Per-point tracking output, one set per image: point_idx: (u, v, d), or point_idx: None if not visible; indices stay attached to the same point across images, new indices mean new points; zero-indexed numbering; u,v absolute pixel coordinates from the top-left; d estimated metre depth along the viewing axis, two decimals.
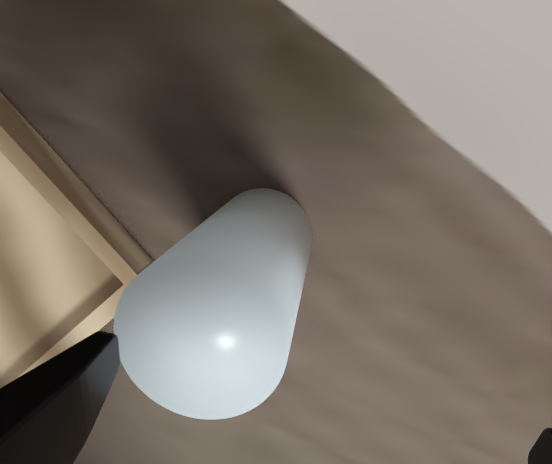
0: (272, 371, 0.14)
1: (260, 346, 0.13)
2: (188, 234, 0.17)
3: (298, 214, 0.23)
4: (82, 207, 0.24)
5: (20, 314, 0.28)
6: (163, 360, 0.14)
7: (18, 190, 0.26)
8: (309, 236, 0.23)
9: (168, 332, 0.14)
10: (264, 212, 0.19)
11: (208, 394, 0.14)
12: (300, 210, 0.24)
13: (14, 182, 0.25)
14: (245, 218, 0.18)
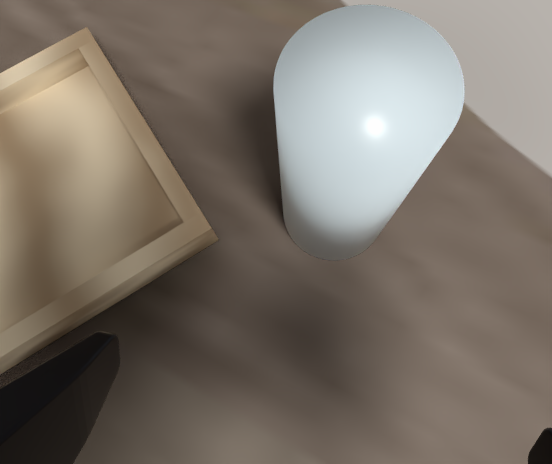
0: (445, 118, 0.13)
1: (433, 91, 0.13)
2: None
3: None
4: None
5: (36, 264, 0.24)
6: (324, 101, 0.13)
7: (92, 134, 0.25)
8: None
9: (336, 73, 0.13)
10: None
11: (369, 141, 0.12)
12: None
13: (92, 127, 0.26)
14: None
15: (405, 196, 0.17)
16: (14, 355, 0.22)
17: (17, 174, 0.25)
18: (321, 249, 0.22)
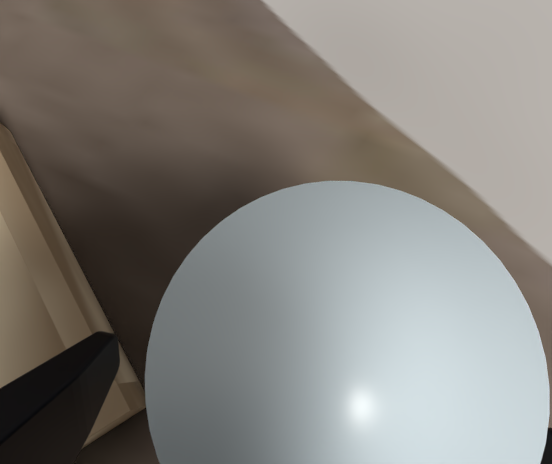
0: (512, 461, 0.06)
1: (483, 389, 0.06)
2: None
3: None
4: (69, 276, 0.17)
5: None
6: (250, 409, 0.06)
7: None
8: None
9: (276, 339, 0.06)
10: None
11: None
12: None
13: None
14: None
15: None
16: None
17: None
18: None
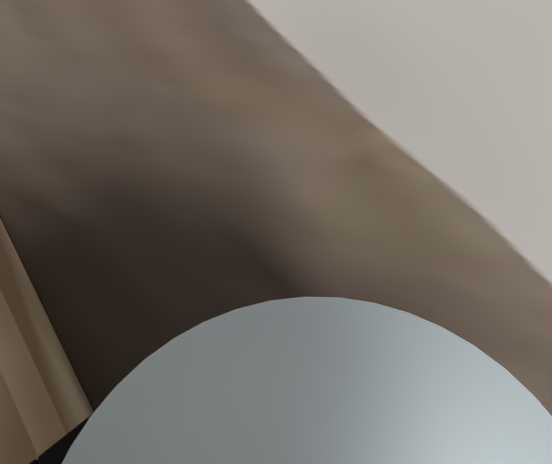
0: None
1: None
2: None
3: None
4: (25, 324, 0.15)
5: None
6: None
7: None
8: None
9: None
10: None
11: None
12: None
13: None
14: None
15: None
16: None
17: None
18: None
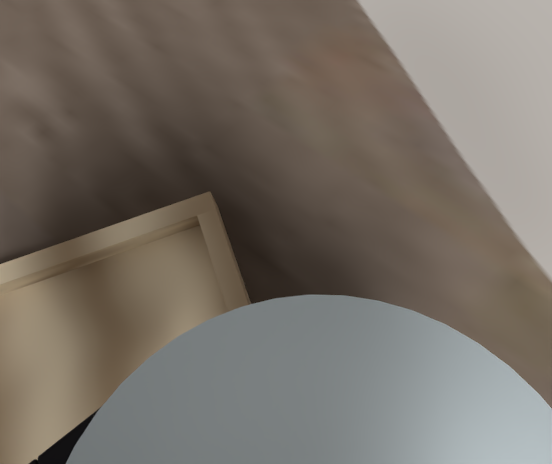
0: None
1: None
2: None
3: None
4: None
5: None
6: None
7: (191, 310, 0.23)
8: None
9: None
10: None
11: None
12: None
13: (192, 301, 0.23)
14: None
15: None
16: None
17: (103, 339, 0.23)
18: None
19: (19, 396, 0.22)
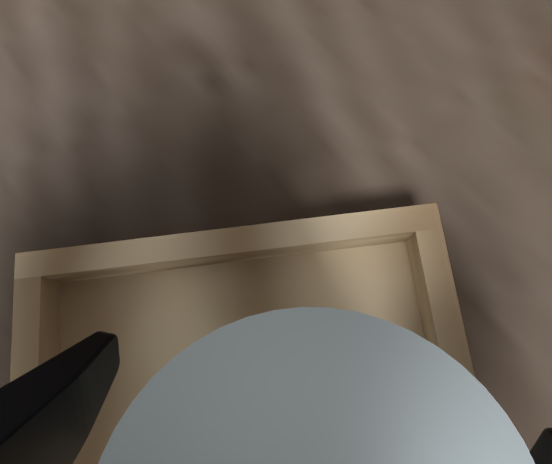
0: None
1: None
2: None
3: None
4: None
5: None
6: None
7: None
8: None
9: None
10: None
11: None
12: None
13: None
14: None
15: None
16: None
17: None
18: None
19: None
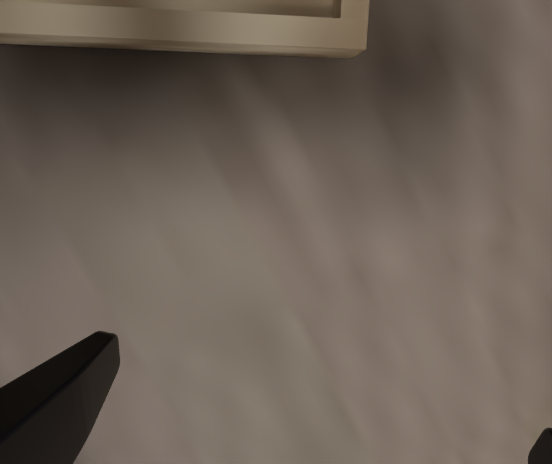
0: None
1: None
2: None
3: None
4: None
5: None
6: None
7: None
8: None
9: None
10: None
11: None
12: None
13: None
14: None
15: None
16: (56, 39, 0.16)
17: None
18: None
19: None
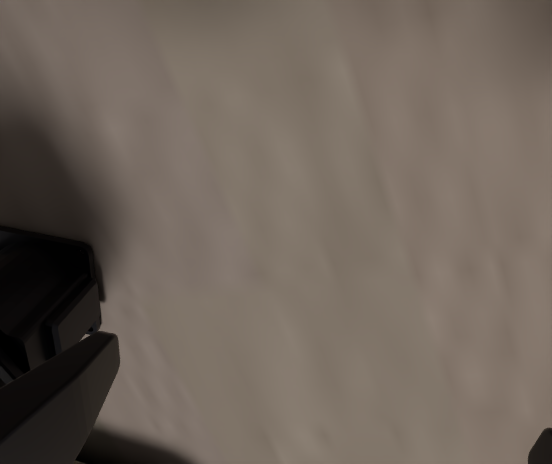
0: None
1: None
2: None
3: None
4: None
5: None
6: None
7: None
8: None
9: None
10: None
11: None
12: None
13: None
14: None
15: None
16: None
17: None
18: None
19: None
